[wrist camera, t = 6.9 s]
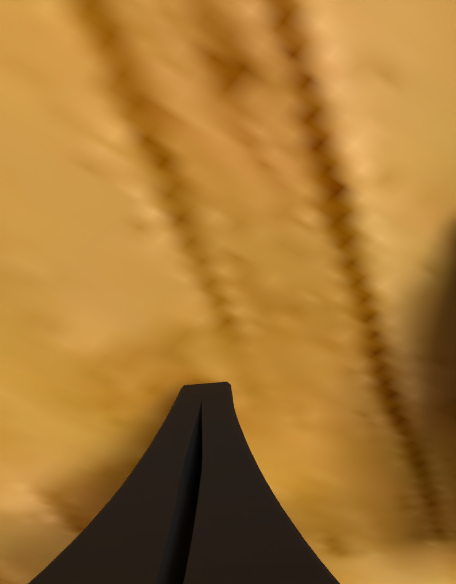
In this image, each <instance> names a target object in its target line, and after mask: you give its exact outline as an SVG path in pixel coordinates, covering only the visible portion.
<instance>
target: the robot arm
mask: <svg viewBox="0 0 456 584" xmlns="http://www.w3.org/2000/svg"><path fill="white" fill-rule="evenodd" d="M28 584H340V583H339V582H338V581H337V580H336V578H335V577H334V576H333V575H332V574H331V573H330V571H329V570H328V569H327V568H326V566H325V565H324V564H323V563H322V562H321V560H320V559H319V558H318V557H317V555H316V554H315V553H314V551H313V550H312V549H311V547H310V546H309V545H308V544H307V542H306V541H305V540H304V538H303V537H302V535H301V534H300V533H299V531H298V530H297V528H296V527H295V525H294V524H293V523H292V521H291V520H290V518H289V517H288V515H287V514H286V513H285V511H284V510H283V508H282V507H281V505H280V503H279V502H278V500H277V499H276V497H275V495H274V494H273V492H272V490H271V489H270V487H269V485H268V483H267V482H266V480H265V478H264V476H263V475H262V473H261V471H260V469H259V467H258V465H257V463H256V461H255V459H254V457H253V455H252V453H251V451H250V449H249V446H248V444H247V442H246V440H245V437H244V435H243V432H242V430H241V427H240V425H239V422H238V419H237V416H236V413H235V409H234V404H233V397H232V390H231V385H230V384H229V383H228V382H218V383H207V384H195V385H184V386H183V387H182V388H181V390H180V392H179V394H178V396H177V398H176V400H175V402H174V404H173V406H172V408H171V410H170V412H169V414H168V416H167V417H166V419H165V421H164V423H163V425H162V426H161V428H160V430H159V431H158V433H157V435H156V436H155V438H154V440H153V441H152V443H151V444H150V446H149V448H148V449H147V451H146V452H145V454H144V455H143V456H142V458H141V459H140V461H139V462H138V464H137V465H136V467H135V468H134V470H133V471H132V473H131V474H130V475H129V477H128V478H127V479H126V481H125V482H124V483H123V485H122V486H121V487H120V488H119V490H118V491H117V492H116V493H115V495H114V496H113V497H112V498H111V500H110V501H109V502H108V503H107V504H106V506H105V507H104V508H103V509H102V510H101V511H100V512H99V514H98V515H97V516H96V517H95V518H94V519H93V520H92V522H91V523H90V524H89V525H88V526H87V527H86V528H85V529H84V530H83V531H82V532H81V533H80V535H79V536H78V537H77V538H76V539H75V540H74V541H73V542H72V543H71V544H70V545H69V546H67V547H66V548H65V549H64V550H63V551H62V552H61V553H60V554H59V555H58V556H57V557H56V558H55V559H54V560H53V561H52V562H51V563H50V564H49V565H48V566H47V567H46V568H45V569H44V570H43V571H42V572H41V573H40V574H38V575H37V576H36V577H35V578H34V579H33V580H32V581H30V582H29V583H28Z"/></svg>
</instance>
